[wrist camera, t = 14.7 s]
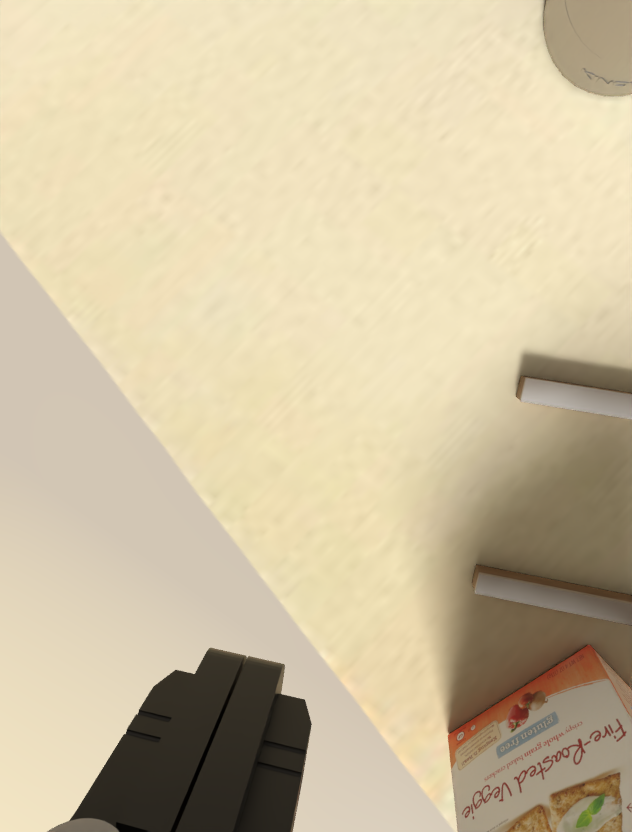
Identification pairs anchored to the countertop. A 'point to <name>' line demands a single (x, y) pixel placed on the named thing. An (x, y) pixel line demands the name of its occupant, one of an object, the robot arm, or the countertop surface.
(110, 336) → the countertop surface
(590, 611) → the pair of parallel rails
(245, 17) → the countertop surface
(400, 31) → the countertop surface
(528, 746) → the cracker box
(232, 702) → the robot arm
